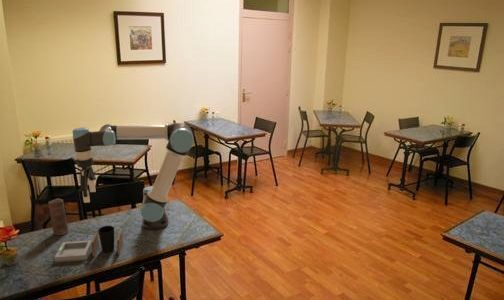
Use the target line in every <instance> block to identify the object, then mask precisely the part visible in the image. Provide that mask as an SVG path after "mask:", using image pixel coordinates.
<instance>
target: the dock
mask: <svg viewBox="0 0 504 300" xmlns="http://www.w3.org/2000/svg"><path fill="white" fill-rule="evenodd" d="M91 242H92V240H77V241H63V242H62V243H61V245H60V247H59V249H58V250H57V252H56V254H55V256H54V263H55V264H57V263H68V262H69V263H70V262H71V263H72V262H81V261H82V262H83V261H87V259H88V256H89V254H90V252H91V251H92V245H91Z"/></svg>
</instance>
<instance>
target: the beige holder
mask: <svg viewBox="0 0 504 300" xmlns="http://www.w3.org/2000/svg"><path fill="white" fill-rule="evenodd" d="M116 238H117V239H116V245H117V246H116V248H117V255H121V253H122V249H123V246H124V241H123V231H122V230H119V232H118V236H117V237H116ZM91 245H92V247H91V251H92V253H91V254H92V257H96V255H97V252H98V249H99V247H100V240H99V233H98V231H97V232H95V233H94V235H93V237H92V242H91Z"/></svg>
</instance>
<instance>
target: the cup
mask: <svg viewBox="0 0 504 300" xmlns="http://www.w3.org/2000/svg"><path fill="white" fill-rule="evenodd" d="M97 232H98V238H99V243H100V246H101V251H102V253H104V254H110V253H112V252H114V250H115V227H114V226H113V225H104V226H102V227H99V229H97Z"/></svg>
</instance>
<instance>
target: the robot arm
mask: <svg viewBox="0 0 504 300" xmlns="http://www.w3.org/2000/svg"><path fill="white" fill-rule="evenodd" d="M194 139H195V138H194V133H193V130H192V128H191V127H190V125H188V124H186V123H182V122H181V123H180V122H179V123H178V122H177V123H175V122H174V123H170V122H169V123H166V124H165V125H163V124H162V125H160V124H159V125H158V124H157V125H156V124H155V125H150V124H149V125H147V124H145V125H135V124H134V125H132V124H131V125H113V124H110V123H106V124H104V125H102V127H100V129H99V130H98V131H97V130H94V131H90V130H89V128H88V127H86V126H85V127H83V126H80V127H77V128H74V129H73V130H72V141H73V145H74V146H73V147H74V151H75V152H74V155H75V160H76V165H77V167H78V168H81V170H80V171H79V175H80V176H79V177H80V178H79V179H80V182H79V184H80V189H79V191H80V192H82V198H83V199H82V201H83V203H85V204H86V203H90V202H91V199H90V193H96V183H95V180H96V176H95V175H96V174H95V173H94V169H93V165H94V158H93V152H92V147H109V146H114V145H116V141H117V140H165V141H166V142H167V144H166V146H165V148H166V151H167V152H166V155H165V157H164V158H163V161H162V164H161V166H160V169H159V170H158V173H157V176H156V179H155V181H154V183H153V185H150V186H146V187H144V188H143V191H142V195H143V198H142V204H141V207H140V213H141V214H140V215H141V217H142V219H141V226H142V228H144V229H146V230H150V231H151V230H152V231H153V230H154V231H155V230H156V231H157V230H161V229H164V228H165V227H167V226H168V225H169V217H168V215H167V212H166V206H167V203H168V200H169V198H168V194H169V191H170V188H171V187H172V184H173V183H174V179H175V177H176V175H177V172H178V171H179V168H180V165H181V163H182V160H183V158H184V157H187V155H188V154H189V151H190V149H191V148H192V147H193V145H194V143H195V140H194ZM88 186H89V189H88Z"/></svg>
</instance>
